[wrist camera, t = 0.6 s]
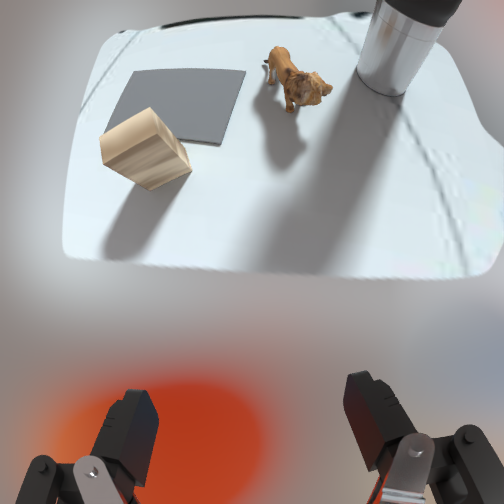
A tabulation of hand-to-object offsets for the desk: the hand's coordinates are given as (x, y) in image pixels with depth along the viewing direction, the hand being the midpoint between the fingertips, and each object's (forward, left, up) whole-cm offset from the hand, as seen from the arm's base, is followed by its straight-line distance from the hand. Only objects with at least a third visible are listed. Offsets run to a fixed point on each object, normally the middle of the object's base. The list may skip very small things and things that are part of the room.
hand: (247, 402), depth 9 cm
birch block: (-15, -19, -25) cm, 35 cm away
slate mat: (-27, -23, -25) cm, 44 cm away
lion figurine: (-31, -4, -25) cm, 41 cm away
